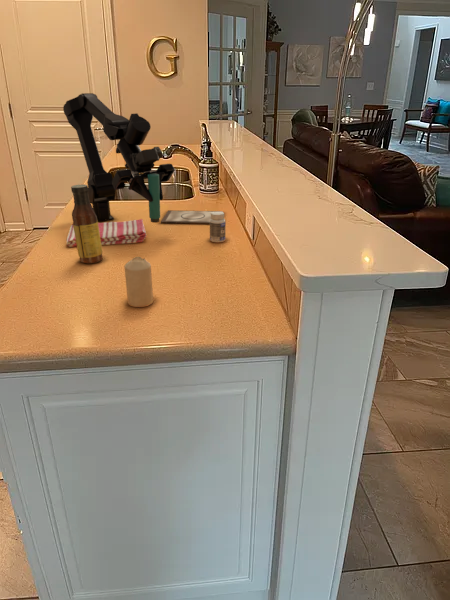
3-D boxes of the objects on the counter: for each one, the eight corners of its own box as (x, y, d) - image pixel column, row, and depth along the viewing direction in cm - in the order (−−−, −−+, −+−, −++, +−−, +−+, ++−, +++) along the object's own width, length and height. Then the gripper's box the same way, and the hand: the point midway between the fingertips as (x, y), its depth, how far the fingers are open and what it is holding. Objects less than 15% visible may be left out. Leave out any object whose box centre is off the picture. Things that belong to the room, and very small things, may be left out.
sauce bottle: (107, 257, 128) (99, 184, 120) (94, 265, 123) (85, 189, 114) (87, 255, 130) (77, 182, 122) (73, 262, 125) (62, 187, 116)
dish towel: (147, 242, 140) (146, 231, 139) (65, 247, 136) (64, 236, 134) (143, 226, 155) (142, 215, 154) (70, 230, 151) (68, 220, 149)
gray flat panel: (160, 223, 158) (160, 221, 158) (168, 211, 172) (168, 209, 172) (220, 224, 157) (220, 222, 157) (222, 212, 171) (222, 210, 170)
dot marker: (147, 220, 140) (145, 174, 134) (158, 219, 141) (156, 173, 135) (152, 223, 137) (150, 176, 131) (162, 222, 139) (160, 175, 133)
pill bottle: (223, 243, 140) (223, 215, 136) (208, 242, 141) (207, 214, 137) (226, 238, 144) (227, 211, 140) (211, 237, 145) (211, 210, 141)
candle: (129, 297, 106) (125, 254, 101) (153, 296, 106) (151, 254, 102) (126, 307, 101) (122, 263, 96) (152, 307, 101) (149, 263, 97)
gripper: (112, 139, 126) (138, 188, 123) (169, 134, 137) (194, 179, 135) (101, 166, 135) (125, 211, 132) (156, 159, 146) (178, 201, 143)
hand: (156, 200), depth 135 cm, fingers closed on dot marker, 3 cm apart
